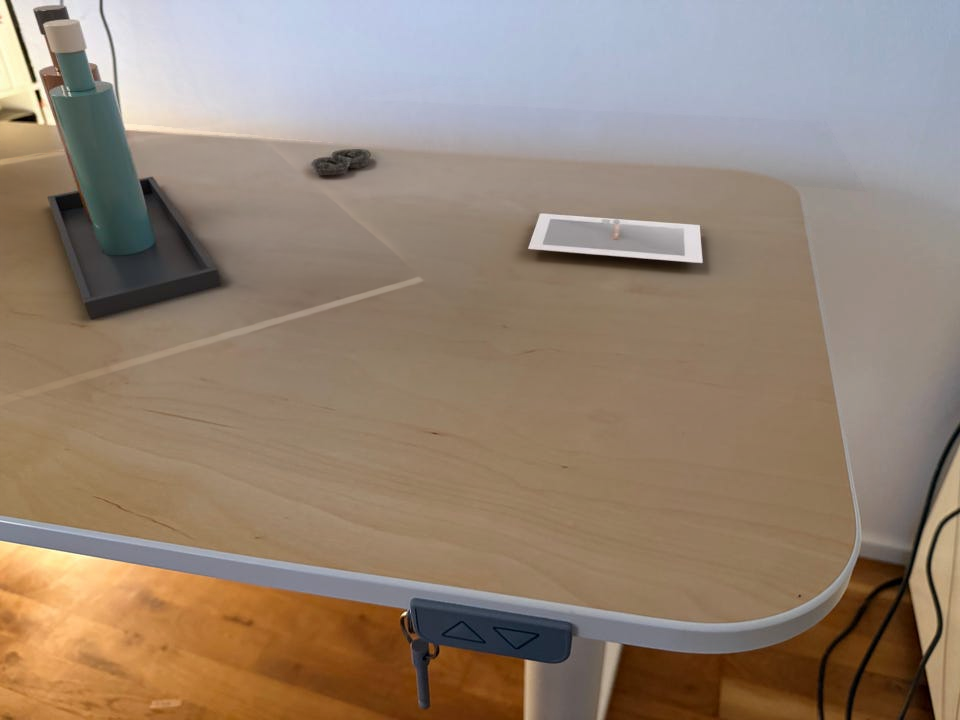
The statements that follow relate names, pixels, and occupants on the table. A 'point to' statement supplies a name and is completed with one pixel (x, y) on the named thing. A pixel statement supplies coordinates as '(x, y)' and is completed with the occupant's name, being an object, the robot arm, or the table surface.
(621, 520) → the table surface
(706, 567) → the table surface
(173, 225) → the tray
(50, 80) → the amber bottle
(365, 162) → the corroded twin loop
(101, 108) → the teal bottle
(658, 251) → the touchpad
